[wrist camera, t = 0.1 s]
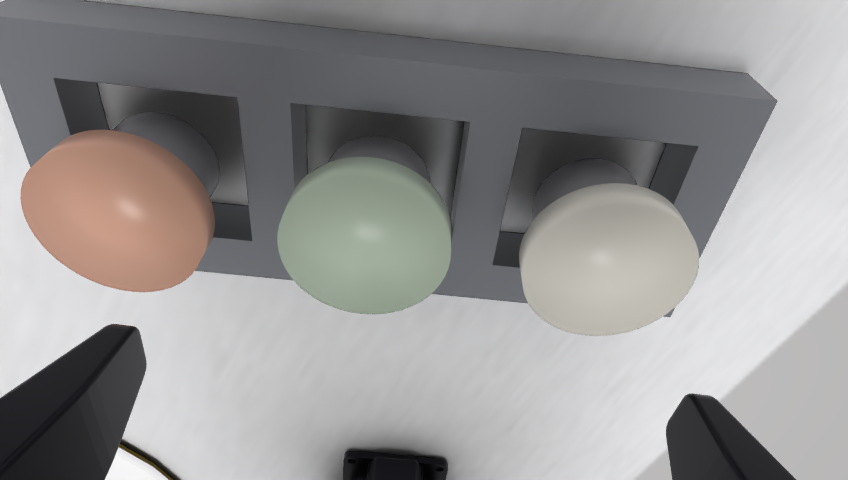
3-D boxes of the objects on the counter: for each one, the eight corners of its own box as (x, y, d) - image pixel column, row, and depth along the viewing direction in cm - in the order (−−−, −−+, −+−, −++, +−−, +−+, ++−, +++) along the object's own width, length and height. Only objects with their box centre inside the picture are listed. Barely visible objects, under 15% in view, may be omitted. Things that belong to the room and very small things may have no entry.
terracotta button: (247, 228, 24) (213, 299, 20) (108, 214, 23) (51, 283, 20) (232, 99, 20) (189, 158, 17) (70, 82, 20) (-7, 138, 17)
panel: (654, 280, 27) (670, 317, 25) (91, 224, 26) (63, 257, 24) (747, 73, 21) (777, 101, 19) (20, -7, 20) (-25, 13, 18)
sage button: (442, 248, 24) (440, 321, 20) (306, 234, 24) (281, 305, 20) (460, 124, 20) (462, 187, 17) (301, 107, 20) (272, 167, 17)
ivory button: (633, 267, 24) (663, 342, 21) (500, 254, 24) (508, 327, 20) (683, 147, 21) (728, 214, 17) (528, 130, 20) (542, 195, 17)
